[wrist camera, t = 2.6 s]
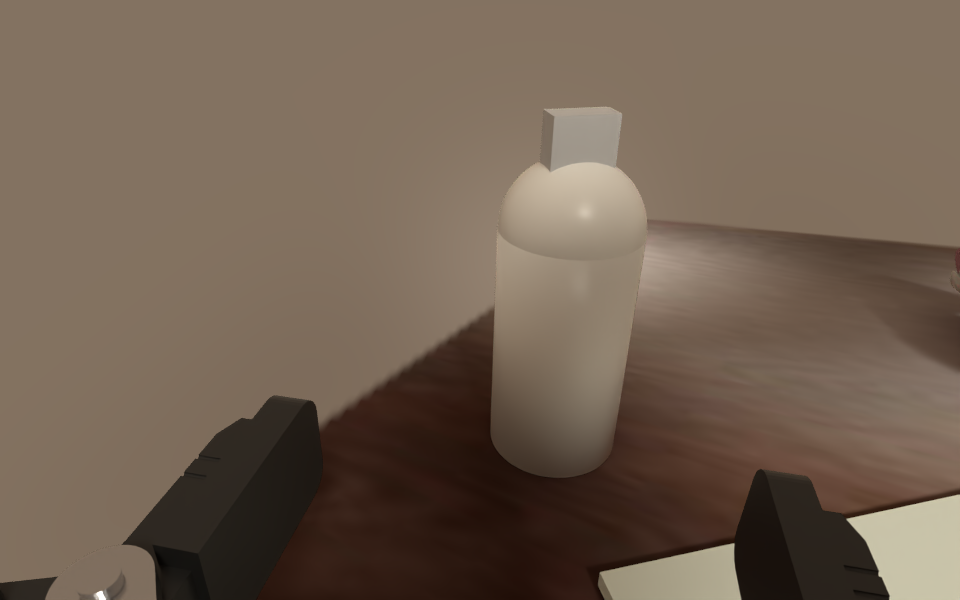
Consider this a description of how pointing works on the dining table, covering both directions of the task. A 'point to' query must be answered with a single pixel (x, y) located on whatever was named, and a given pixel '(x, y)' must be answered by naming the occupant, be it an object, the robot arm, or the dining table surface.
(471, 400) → the dining table surface
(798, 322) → the dining table surface
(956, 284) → the video game controller
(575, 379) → the bottle with rectangular cap
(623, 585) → the cream flat board
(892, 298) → the dining table surface
